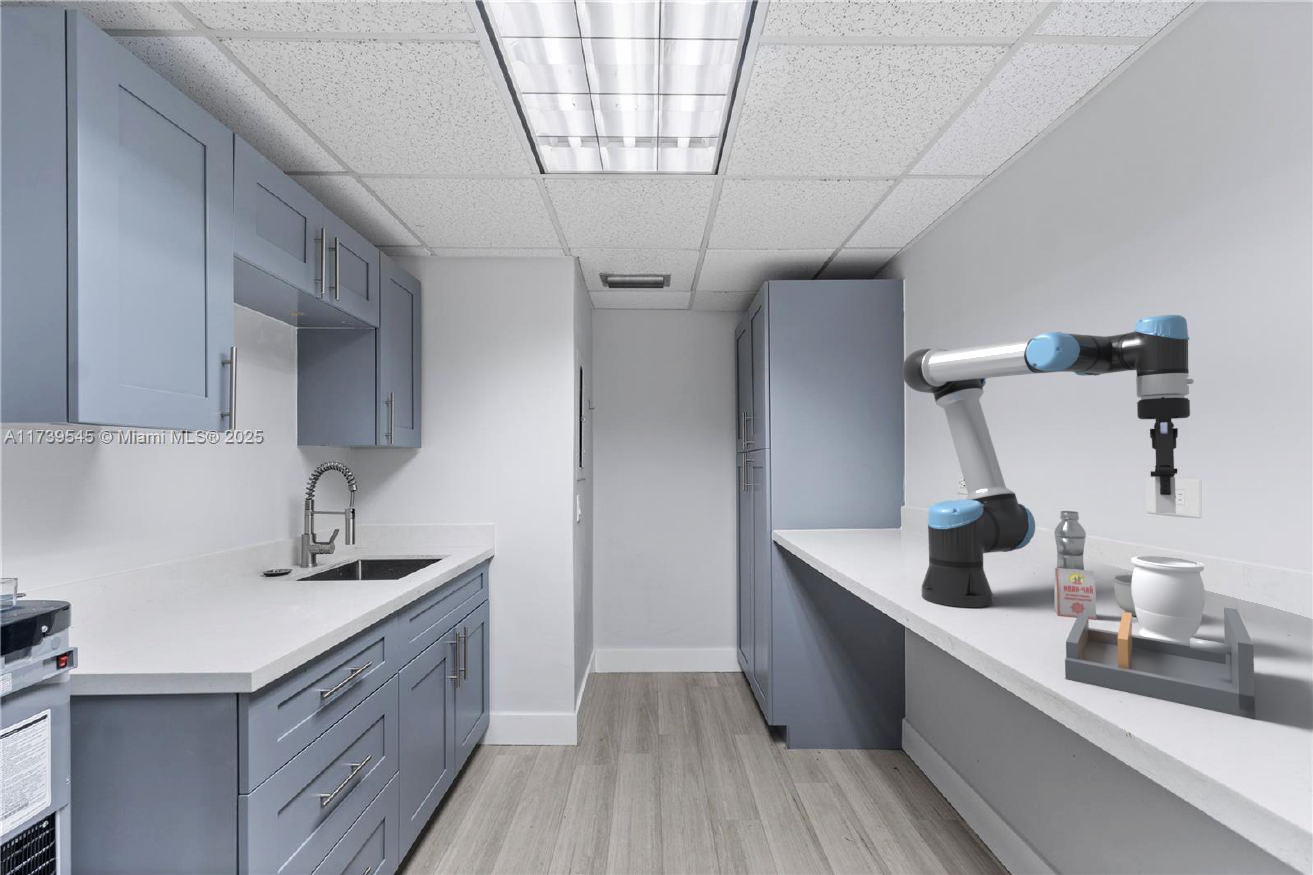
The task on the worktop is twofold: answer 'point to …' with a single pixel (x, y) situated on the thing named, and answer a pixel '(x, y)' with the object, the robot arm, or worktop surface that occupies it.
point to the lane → (1170, 666)
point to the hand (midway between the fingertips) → (1165, 510)
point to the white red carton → (1074, 593)
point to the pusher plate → (1125, 641)
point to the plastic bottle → (1070, 541)
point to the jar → (1168, 597)
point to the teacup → (1124, 592)
